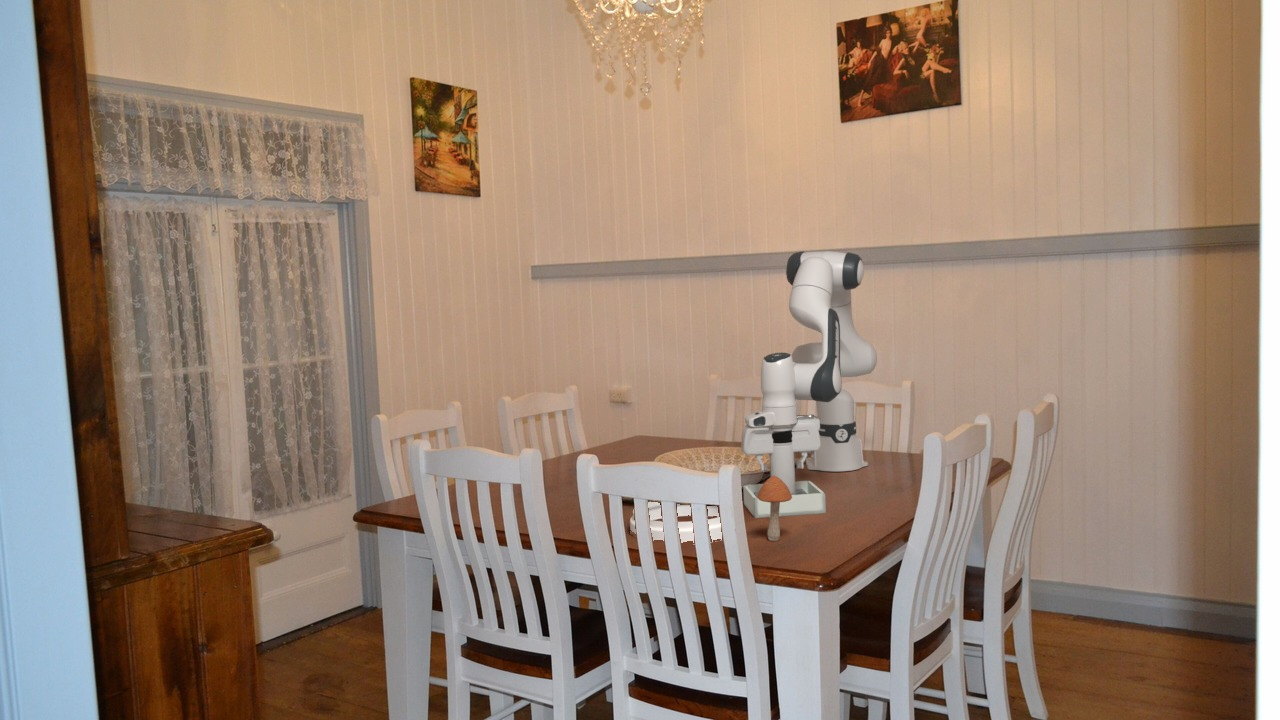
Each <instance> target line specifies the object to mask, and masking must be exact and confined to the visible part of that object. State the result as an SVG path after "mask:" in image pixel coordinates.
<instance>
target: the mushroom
mask: <svg viewBox="0 0 1280 720" xmlns="http://www.w3.org/2000/svg"><path fill="white" fill-rule="evenodd" d="M762 484H763V485H762V487H761V488H760V490H759V493H758V495H757V498H758V499H759V500H760V501H764V502H771V503H770V517H769V522H768V527H767V533H766V534H767V538H768V540H769V541H771V542H779V540H780V536H781V528H780V516H779V508H780V502H786V501H789V500H791V499H792V496H791V493H790V491H789V489H788V487H787V486H786V484H785V483H784V482H783V481H782V480H781V479H780V478H778V477H777V476H775V475H774V476H772V477H771V476H770V477H769V478H767V479H766V480H765V481H764V483H762Z"/></svg>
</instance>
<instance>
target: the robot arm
mask: <svg viewBox="0 0 1280 720" xmlns="http://www.w3.org/2000/svg"><path fill="white" fill-rule="evenodd" d="M864 267H865V266H864V262H863V259H862V257H861V256H860V255H859V254H856V253H852V252H841V251H831V250H825V251H806V252H805V251H798V252H793V254H791V256H789V257H788V260H787V263H786V265H785V275H786V280H787V282H788V283H789V284H790V285H791V286H792V287H791V291H790V295H789V299H788V310H789V312H790V314H791V317H793V318H794V320H795V321H796V322H798V323H799V324H801V326H804V327H806V328H807V329H811V330H813V331H816V332H818V333H820V334H821V342H808V343H805V344H802V345H798V346H796V347H795V348H794V350H792V352H791V353H792V354H790V353H788V352H775V353H769V354H767V355H766V356H764V357H763V358H762V362H761V366H760V367H761V369H760V389H761V393H762V402H761V409H760V410H758V411H755V412H753V413H750V414H748V415H745V417H744V423H745V426H744V427H743V429H742V431H741V445H740V447H741V451H742V453H743V454H744V455H746V456H755V459H756V460H757V462H758V463H759V465H760V472H768V464H767V463H764V462H763V460H762V459H763V455H770V454H772V453H773V446H774V445H773V438H772V433H782V432H787V431H790V430H792V445H793V452H794V453H798V452H799V454H800V456H801V457H800V459H799V460H797V461H795V463H796V469H797V470H801V469H802V470H803V469H804V462H805V464H806V468H807V470H811V471H822V472H849V471H851V472H852V471H855V470H859V469H862V468H864V467H868V466H869V463H868V461H865V460H864V455H863V445H862V440H861V438H860V437H858V436H857V428H858V427H857V423H856V421H855V405H854V397H853V395H852V394H851V393H850V392H848V391H847V390H845V389H843V388H842V386H843V383H842V380H843V379H842V378H854V377H856V378H857V377H860V376H864V375H868V374H871V373H872V372H873V371H874V370H875V369H876V366H877V363H878V355H877V351H876V349H875V348H874V346H873V345H872V344H871V343H870V342H868V341H867V340H866V339H864V338H863V337H862V336H861V335H860V334H859V333H858V331H857V330H856V328H855V326H854V320H853V309H852V290H855V289H857V288H858V287H859V286H861V283H862V280H863V278H864V274H865V268H864ZM797 401H815V404H816V410H817V411H816V412H817V414H816V415H817V416H816V415H815V414H801V415H800V414H798V410H797V409H798V408H797V407H798V406H797ZM793 431H794V432H793ZM808 454H811V455H810V457H808Z"/></svg>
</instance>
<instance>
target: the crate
mask: <svg viewBox="0 0 1280 720" xmlns="http://www.w3.org/2000/svg"><path fill="white" fill-rule="evenodd" d="M763 484H764V483H755V484H743V485H742V490H743V491H742V492H743V493H742V494H743V505H744V506H745V507H746V508H747V510H748V511H749V512H750V514H751V515H752V516H753V517H754V519H760V518H761V519H762V518H770V503H771V502H764V501H760V500H759V499H758V498H757V495H758V493H759V490H760V488H761V487H762V485H763ZM795 489H796V495H791V496H792V499H791V500H789V501H786V502H780V508H779V517H787V516H788V517H790V516H791V517H793V516H802V515H803V516H804V515H805V516H806V515H817V514H819V515H820V514H826V513H827V508H826V507H827V506H826V504H827V503H826V493H825V492H824V491H823V490H822V489H820V488H819V487H818V486H817V485H816V484H815V483H813V482H812V481H811V480H799V481H795Z"/></svg>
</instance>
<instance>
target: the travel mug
mask: <svg viewBox="0 0 1280 720" xmlns="http://www.w3.org/2000/svg"><path fill="white" fill-rule="evenodd" d="M793 432H794V431H793ZM772 438H773V445H774V446H773V453H772V454H769V470H770V471H769V474H770V475H769V476H770V477H772V476H774V475H775V476H777V477H778V478H780V479H781V480H782V481H783V482H784V483H785V484H786V486H787V487H788V489H789V491H790V493H791V495H796V489H795V482H796V472H795V471H796V470H795V452H793V445H792V430H790V431H787V432H782V433H772Z"/></svg>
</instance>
